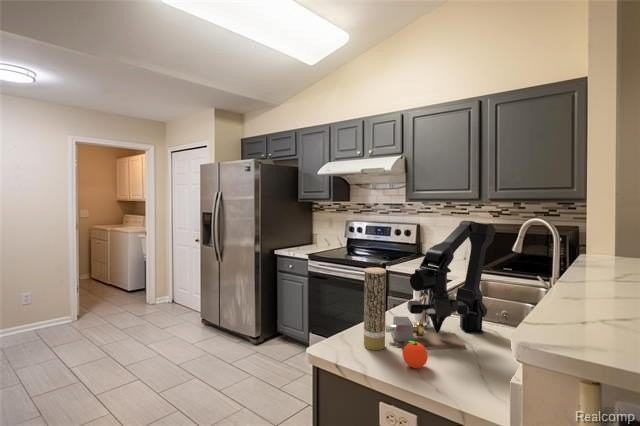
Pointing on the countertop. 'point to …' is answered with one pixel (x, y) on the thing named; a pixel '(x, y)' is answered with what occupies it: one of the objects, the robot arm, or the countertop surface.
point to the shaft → (417, 329)
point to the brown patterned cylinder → (374, 308)
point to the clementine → (415, 354)
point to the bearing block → (403, 329)
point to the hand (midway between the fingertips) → (436, 332)
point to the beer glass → (423, 317)
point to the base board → (435, 340)
